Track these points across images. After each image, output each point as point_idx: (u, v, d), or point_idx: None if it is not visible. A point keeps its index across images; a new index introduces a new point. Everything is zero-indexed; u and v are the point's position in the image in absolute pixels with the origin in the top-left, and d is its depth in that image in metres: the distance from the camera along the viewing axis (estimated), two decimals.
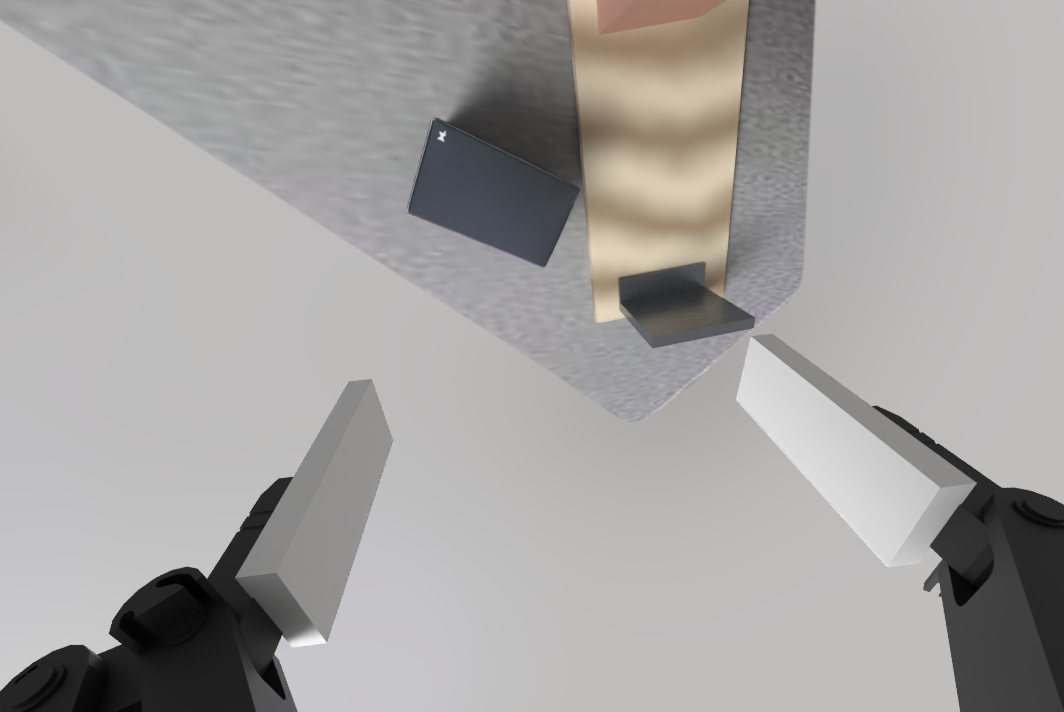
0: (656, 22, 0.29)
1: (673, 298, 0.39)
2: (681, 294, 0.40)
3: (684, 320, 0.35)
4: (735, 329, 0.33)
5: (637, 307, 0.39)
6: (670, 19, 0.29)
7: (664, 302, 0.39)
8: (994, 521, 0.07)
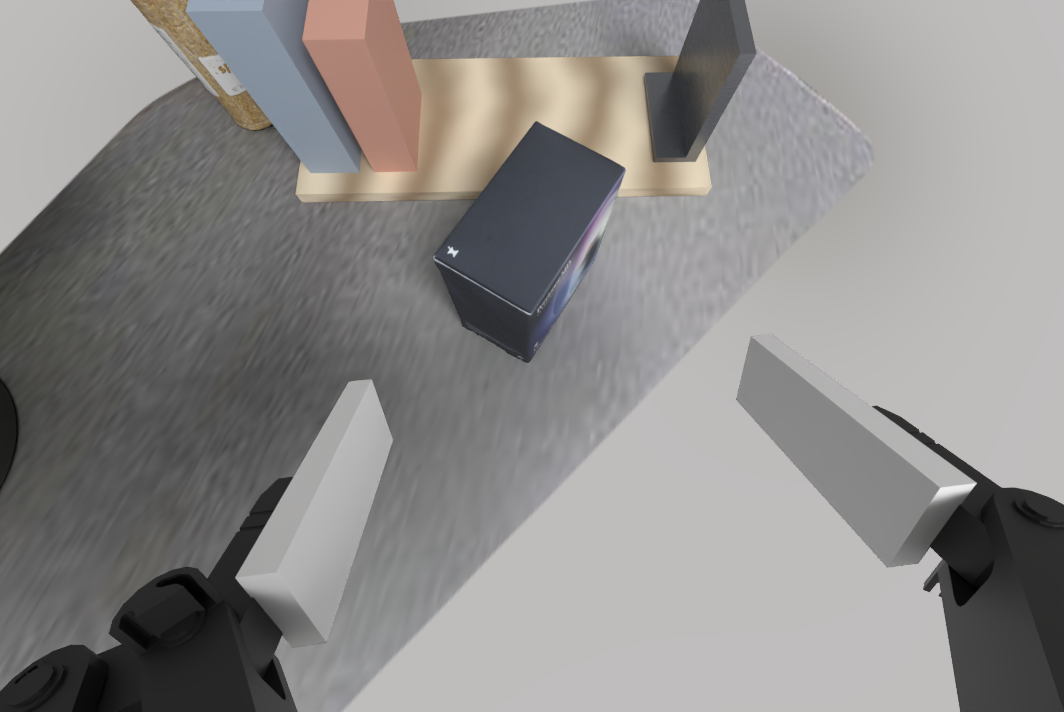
0: (416, 121, 0.32)
1: (685, 93, 0.32)
2: (681, 88, 0.33)
3: (716, 40, 0.27)
4: None
5: (693, 127, 0.30)
6: (416, 108, 0.32)
7: (689, 98, 0.31)
8: (993, 521, 0.07)
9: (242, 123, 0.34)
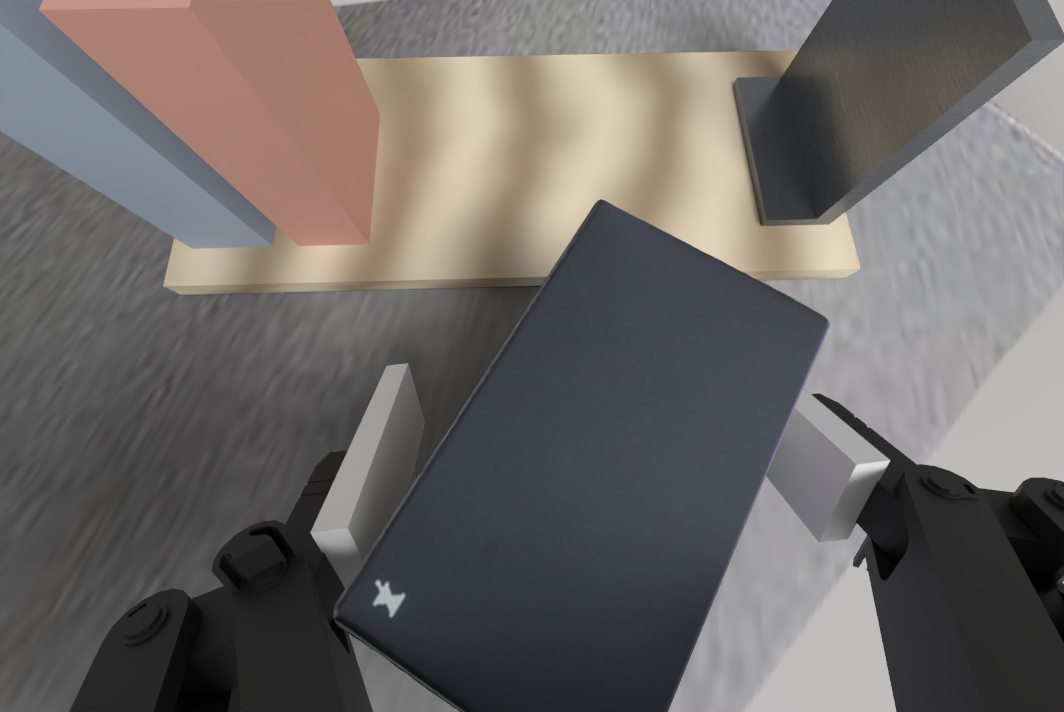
0: (368, 159, 0.20)
1: (815, 112, 0.19)
2: (803, 104, 0.20)
3: (925, 17, 0.14)
4: None
5: (841, 172, 0.18)
6: (368, 139, 0.20)
7: (830, 122, 0.18)
8: (906, 498, 0.08)
9: None
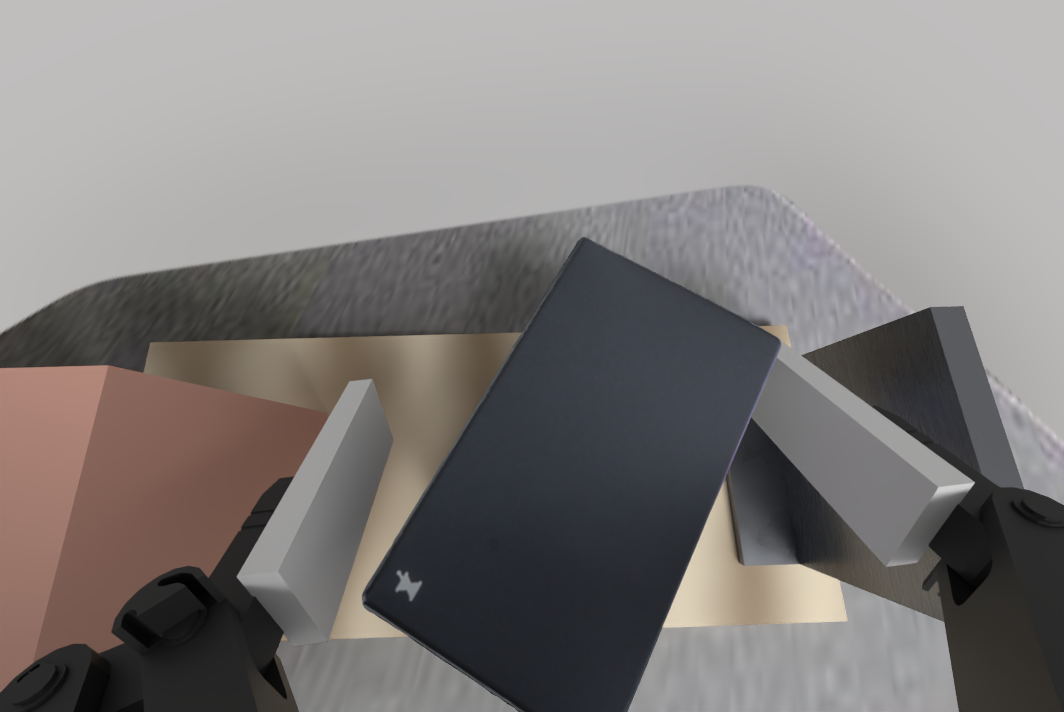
0: None
1: None
2: None
3: None
4: (973, 360, 0.11)
5: (824, 546, 0.16)
6: None
7: None
8: (992, 520, 0.07)
9: None
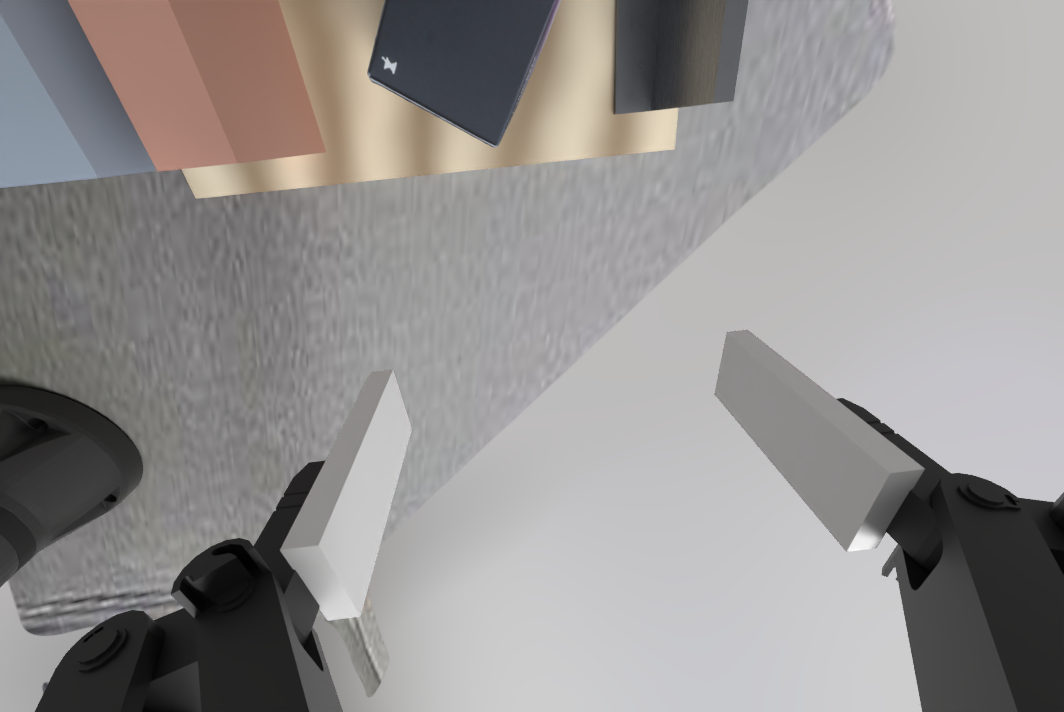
0: (295, 73, 0.23)
1: (667, 7, 0.22)
2: None
3: (705, 13, 0.19)
4: None
5: (664, 88, 0.24)
6: (287, 52, 0.23)
7: (669, 31, 0.22)
8: (941, 507, 0.08)
9: None
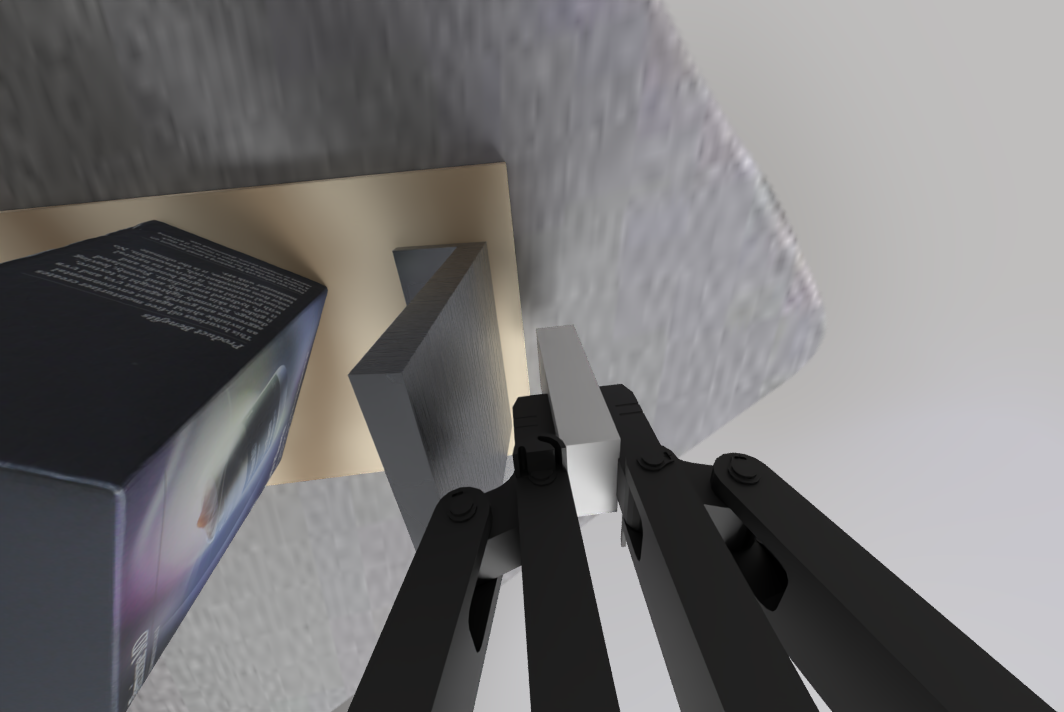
0: None
1: None
2: None
3: None
4: (412, 442, 0.08)
5: None
6: None
7: None
8: (631, 483, 0.09)
9: None
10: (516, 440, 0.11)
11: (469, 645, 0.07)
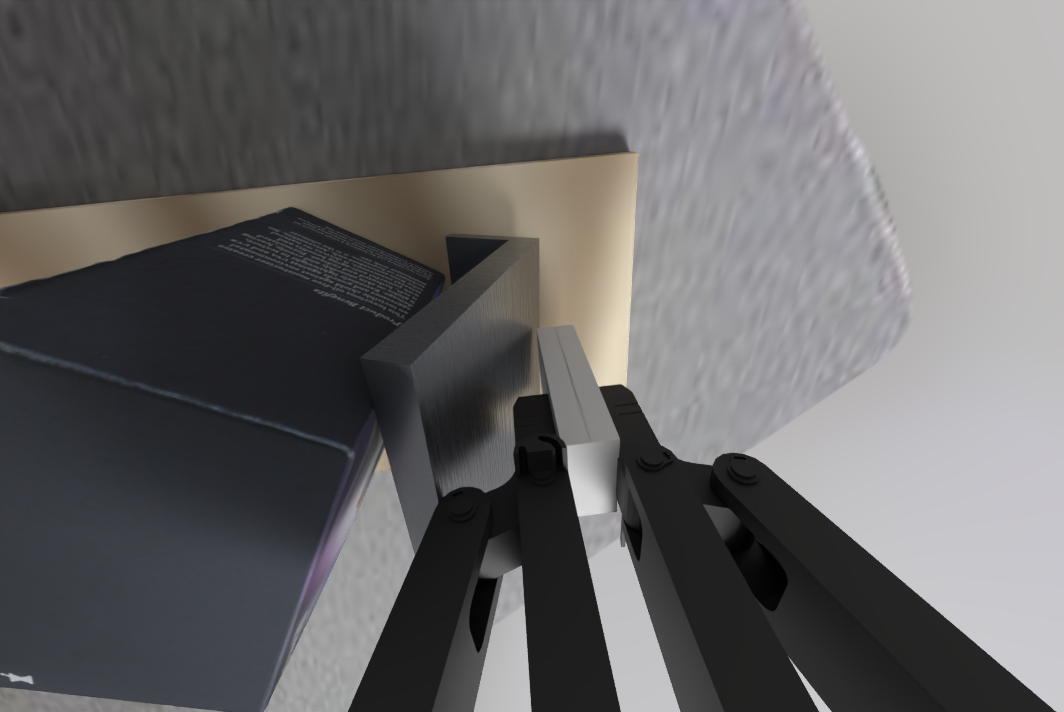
0: None
1: None
2: None
3: None
4: (415, 435, 0.07)
5: None
6: None
7: None
8: (631, 483, 0.09)
9: None
10: (516, 440, 0.11)
11: (469, 645, 0.07)
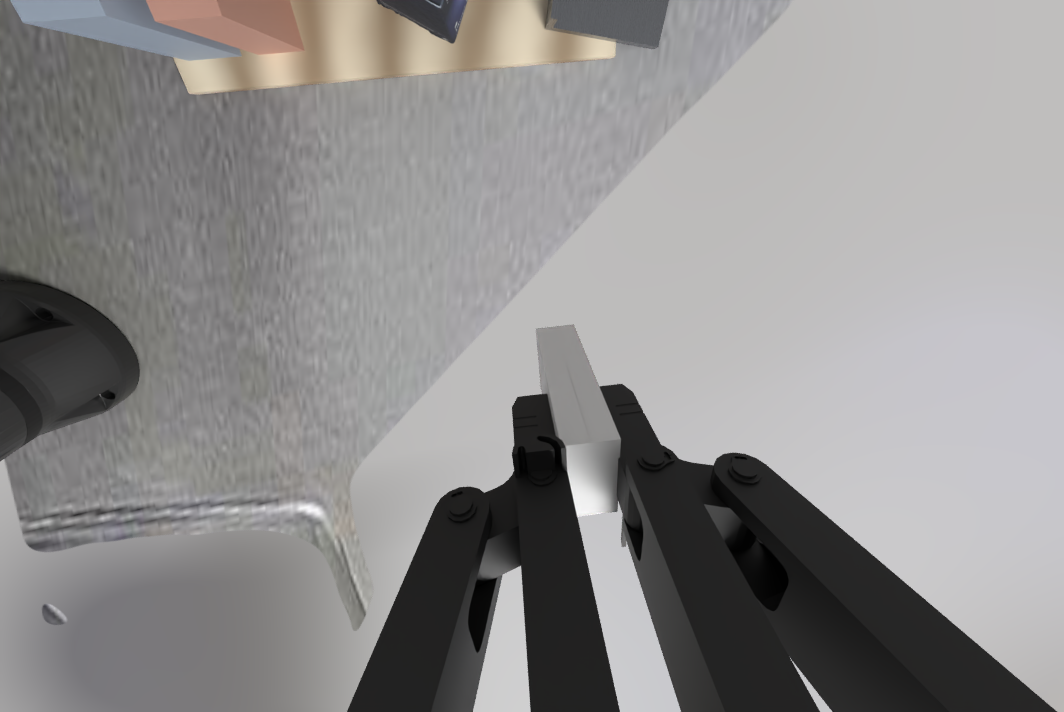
0: None
1: None
2: None
3: None
4: None
5: (579, 13, 0.29)
6: None
7: None
8: (632, 483, 0.09)
9: None
10: (516, 440, 0.11)
11: (468, 645, 0.07)
